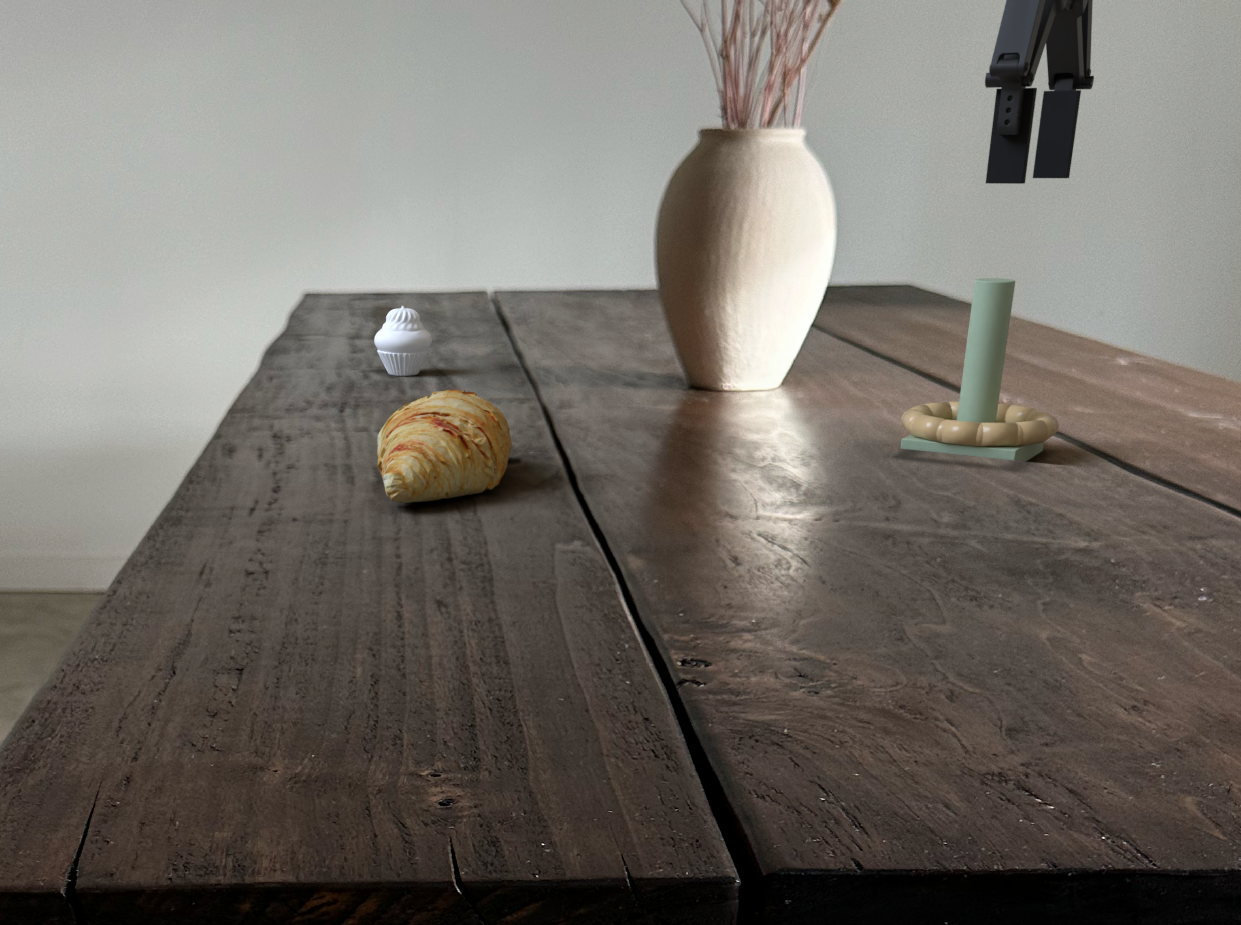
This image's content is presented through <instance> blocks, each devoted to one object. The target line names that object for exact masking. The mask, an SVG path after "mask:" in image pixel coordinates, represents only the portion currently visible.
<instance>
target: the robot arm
mask: <svg viewBox="0 0 1241 925" xmlns="http://www.w3.org/2000/svg"><path fill="white" fill-rule="evenodd" d="M1092 27H1093V0H1005V5H1004V9H1003V12H1002V16H1001V20H1000V25H999V29H998V34H997V37H996V41H995V45H994V48H993V53H992V57H991V63H990V65H989V67H988V68H989V69H988V70H989V71H988V72H986V73H985V78H984V86H985V88H986V89H989V88H990V89H991V88H996V90H995V91H996V92H995V99H994V108H993V116H992V125H991V134H990V135H991V136H990V142H989V143H990V144H989V149H988V150H989V151H988V160H987V167H986V176H985V184H1000V185H1001V184H1002V185H1003V184H1008V185H1010V184H1012V185H1013V184H1014V185H1015V184H1022V185H1023V184H1026V179H1027V170H1028V164H1029V163H1028V161H1029V155H1030V147H1031V139H1032V130H1033V122H1034V114H1035V106H1036V99H1037V92H1038V91H1037V89H1038V87H1032V86H1033V83H1034V81H1035V78H1036V74H1037V71H1038V68H1039V66H1040V62H1041V59H1042V56H1043V53H1044V50H1046V65H1047V85H1048V90H1043V95H1042V102H1041V110H1040V118H1039V126H1038V134H1037V139H1036V140H1037V141H1036V149H1035V157H1034V163H1033V164H1034V165H1033V171H1032V172H1033V173H1032V179H1070V175H1071V174H1070V173H1071V167H1072V161H1073V160H1072V159H1073V153H1074V144H1075V139H1076V131H1077V123H1078V116H1079V108H1080V103H1081V102H1080V101H1081V95H1082V90H1092V88H1093V86H1094V80H1095V76H1094V75H1091V74H1092V69H1091V65H1092V64H1091V63H1092V61H1091V60H1092V33H1093V32H1092V29H1093V28H1092ZM1045 48H1046V49H1045Z"/></svg>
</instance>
